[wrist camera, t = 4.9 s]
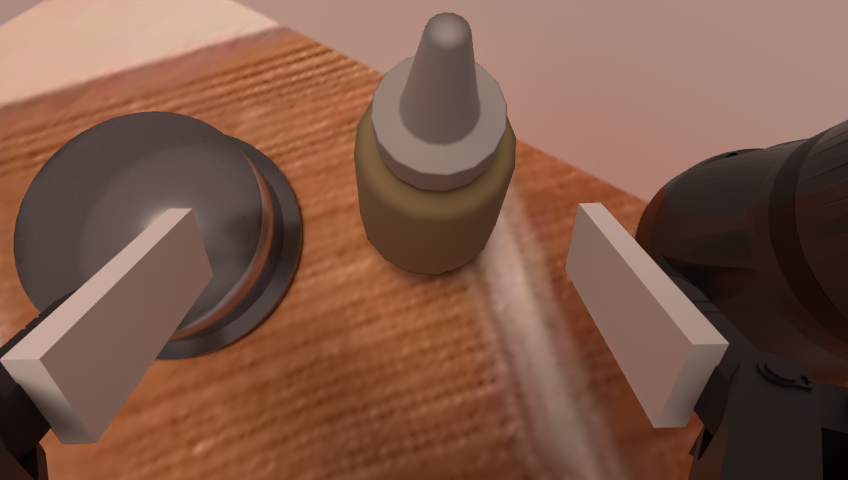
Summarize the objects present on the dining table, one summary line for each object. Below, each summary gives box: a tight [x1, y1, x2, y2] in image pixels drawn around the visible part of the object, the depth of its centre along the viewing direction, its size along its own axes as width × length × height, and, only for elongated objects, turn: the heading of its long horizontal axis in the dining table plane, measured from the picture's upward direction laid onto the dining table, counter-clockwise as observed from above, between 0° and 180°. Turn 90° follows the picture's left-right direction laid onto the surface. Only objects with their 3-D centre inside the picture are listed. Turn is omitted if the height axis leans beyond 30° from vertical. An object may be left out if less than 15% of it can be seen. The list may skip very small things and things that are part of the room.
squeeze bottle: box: [354, 13, 516, 274], centre depth 19 cm, size 8×8×18 cm
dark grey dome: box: [14, 112, 303, 360], centre depth 25 cm, size 15×15×5 cm
